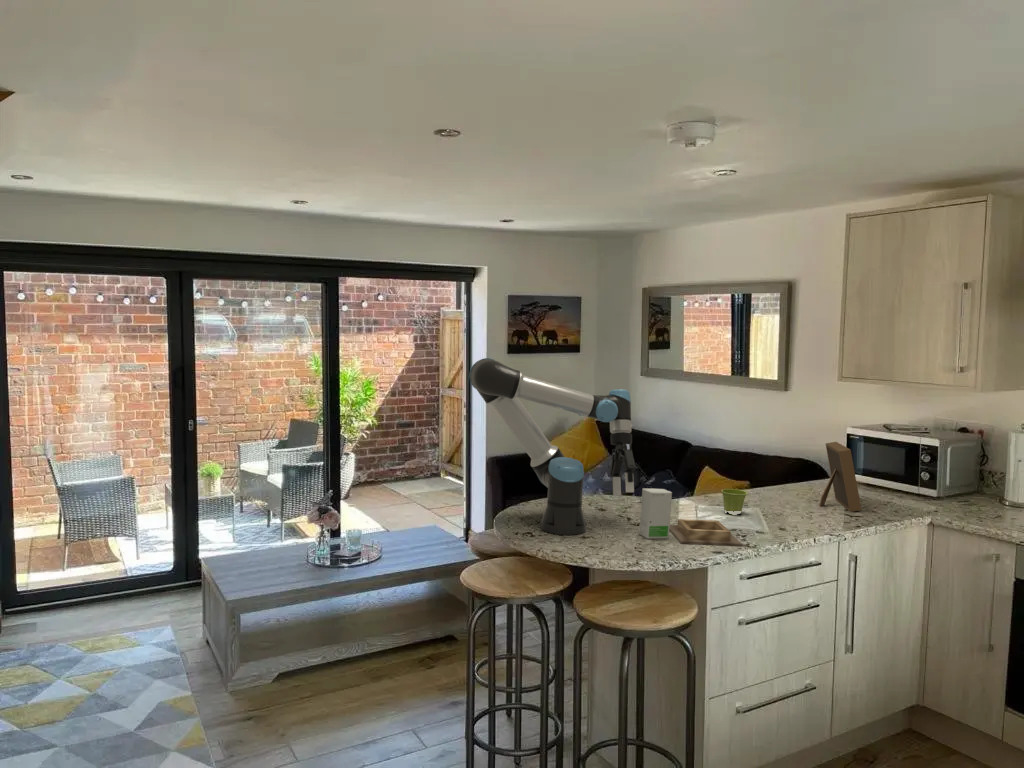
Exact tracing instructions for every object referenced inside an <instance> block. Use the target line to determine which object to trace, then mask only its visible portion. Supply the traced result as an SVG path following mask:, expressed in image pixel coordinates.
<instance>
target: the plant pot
mask: <svg viewBox="0 0 1024 768" xmlns="http://www.w3.org/2000/svg"><path fill="white" fill-rule="evenodd" d="M721 494H722V497H723V511H724V510H726V511H733V512H734V511H743V507H744V502H745V499H746V496H747V495H748V492H747V491H745V490H742V489H736V488H735V489H734V488H723V489H721Z"/></svg>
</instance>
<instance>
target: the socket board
mask: <svg viewBox="0 0 1024 768" xmlns="http://www.w3.org/2000/svg"><path fill="white" fill-rule="evenodd" d="M669 533H671V535H673V537H674V538H675V539H676V540H677V541H678V543H679V544H680V545H703V546H704V545H705V546H724V547H726V546H730V547H731V546H732V547H743V543H742V542H741V541H740V540H739V539H738V538H737V537H735V536H734V535H733V534H732V533H731V531H730V530H729V529H728V527H726V526H725V525H724V524H723V523H721V522H720V521H719V520H713V519H712V520H707V519H684V518H682V519H681V518H678V519H677V525H675V524H674V525H673V524H672V525H671V524H670V526H669Z"/></svg>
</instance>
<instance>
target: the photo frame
mask: <svg viewBox="0 0 1024 768" xmlns="http://www.w3.org/2000/svg"><path fill="white" fill-rule="evenodd" d="M825 449H826V454H827V460H828V465H829V471H830V478H829V480H828V482H827V484H826V486H825V488H824V490H823V493H822V495H821V497H820V502H819V505H818V506H819V507H823V506H825V503H826V501H827V498H828V496H829V493H830V490H831V488H832V487H833V492H834V498H835V500H836V502H838V503H839V504H840V505H841V506H843V507H844V508H845V509H846V510H847V511H849V512H850V513H851V512H858V511H862V505H861V499H860V494H859V490H858V483H857V477H856V472H855V467H854V461H853V456H852V450H851V449H850V448H848V447H846V446H845V445H843V444H841V443H839V442H838V441H833V442H827V443H826V442H825Z"/></svg>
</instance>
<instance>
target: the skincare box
mask: <svg viewBox="0 0 1024 768" xmlns="http://www.w3.org/2000/svg"><path fill="white" fill-rule="evenodd" d="M672 496H673V492H672V491H669V490H667V489H665V488H645V487H643V488H642V491H641V508H640V519H639V520H640V521H639V529H638V530H639V535H640V536H642V537H643V538H645V539H648V540H649V539H669V538H670V531H669V526H670V525H671V524H670V523H671V510H672V509H671V508H672Z"/></svg>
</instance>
